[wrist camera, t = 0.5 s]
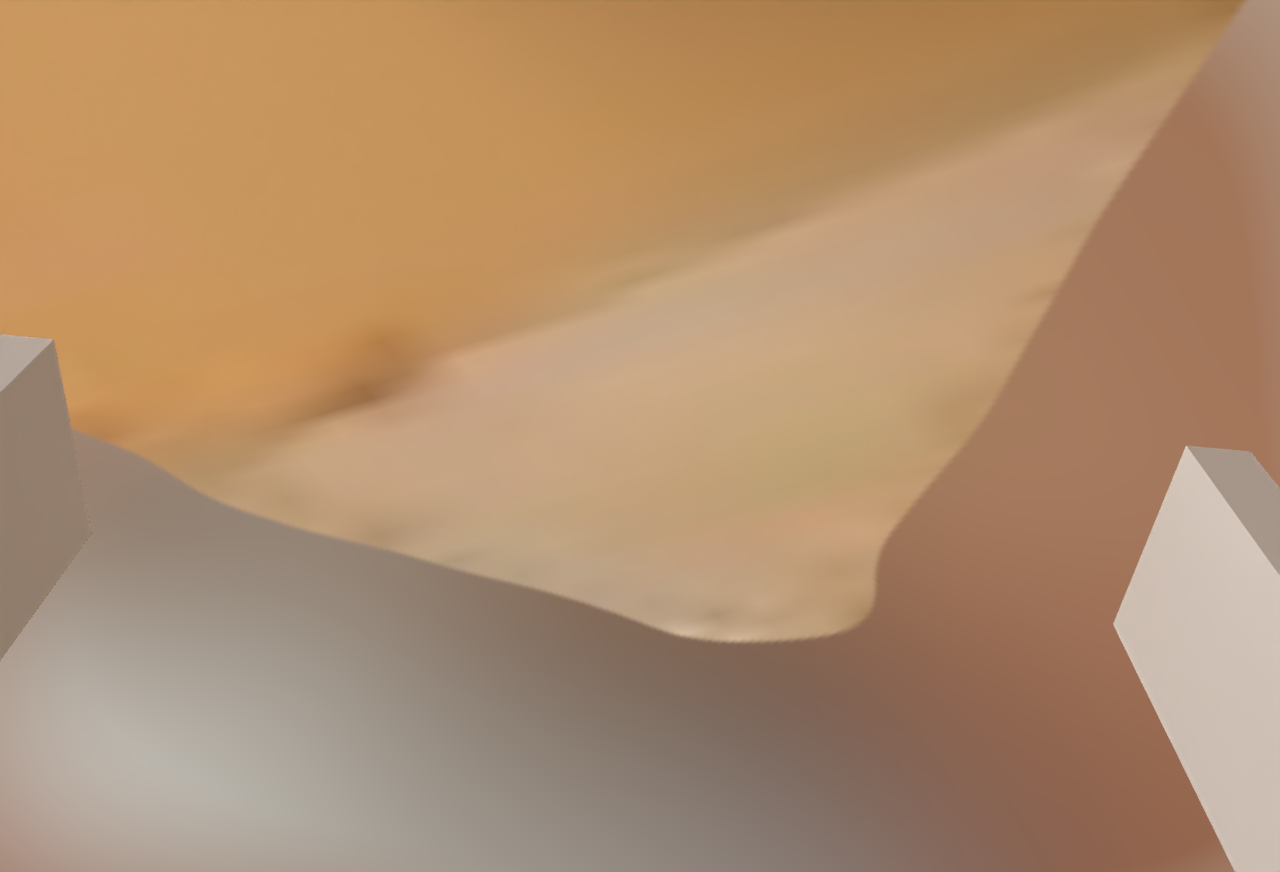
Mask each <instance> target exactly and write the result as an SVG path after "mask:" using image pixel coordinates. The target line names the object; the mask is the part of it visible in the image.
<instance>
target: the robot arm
mask: <svg viewBox="0 0 1280 872" xmlns="http://www.w3.org/2000/svg"><path fill="white" fill-rule="evenodd" d="M91 534H92V531H91V526H90V521H89V516H88V511H87V506H86V501H85V496H84V491H83V485H82V480H81V476H80V470H79V465H78V460H77V455H76V450H75V445H74V440H73V435H72V429H71V424H70V419H69V414H68V409H67V404H66V399H65V394H64V389H63V383H62V378H61V373H60V368H59V363H58V358H57V353H56V348H55V343H54V339H45V338H35V337H24V336H13V335H3V334H0V660H1V659H2V658H3V656H4V655H5V653H6V652H7V651H8V649H9V648H10V646H11V645H12V644H13V642H14V641H15V639H16V638H17V637H18V635H19V634H20V633H21V631H22V630H23V628H24V627H25V625H26V624H27V623H28V621H29V620H30V619H31V617H32V616H33V615H34V613H35V612H36V610H37V609H38V608H39V606H40V605H41V603H42V602H43V601H44V599H45V598H46V596H47V595H48V594H49V592H50V591H51V590H52V588H53V586H54V585H55V584H56V582H57V581H58V580H59V579H60V577H61V575H62V574H63V573H64V571H65V570H66V569H67V567H68V566H69V565H70V563H71V562H72V560H73V559H74V557H75V556H76V555H77V554H78V552H79V551H80V549H81V548H82V547H83V545H84V544H85V542H86V541H87V540H88V538H89V537H90V535H91ZM1113 625H1114V627H1115V629H1116V631H1117V633H1118V635H1119V637H1120V639H1121V641H1122V643H1123V645H1124V647H1125V650H1126V652H1127V654H1128V656H1129V658H1130V660H1131V662H1132V663H1133V666H1134V668H1135V670H1136V672H1137V674H1138V676H1139V678H1140V680H1141V682H1142V684H1143V686H1144V688H1145V690H1146V692H1147V694H1148V696H1149V698H1150V700H1151V702H1152V704H1153V706H1154V708H1155V710H1156V713H1157V714H1158V717H1159V719H1160V721H1161V723H1162V725H1163V727H1164V729H1165V731H1166V733H1167V735H1168V737H1169V739H1170V741H1171V743H1172V745H1173V747H1174V749H1175V751H1176V753H1177V755H1178V757H1179V759H1180V761H1181V763H1182V765H1183V767H1184V769H1185V771H1186V773H1187V775H1188V778H1189V780H1190V782H1191V784H1192V786H1193V788H1194V790H1195V792H1196V794H1197V796H1198V798H1199V800H1200V802H1201V804H1202V806H1203V808H1204V810H1205V812H1206V814H1207V816H1208V818H1209V820H1210V822H1211V824H1212V826H1213V828H1214V830H1215V832H1216V834H1217V836H1218V838H1219V840H1220V842H1221V844H1222V846H1223V848H1224V851H1225V853H1226V855H1227V857H1228V859H1229V861H1230V863H1231V865H1232V867H1233V869H1234V871H1235V872H1280V488H1279V487H1278V486H1277V484H1276V483H1275V482H1274V481H1273V479H1272V478H1271V477H1270V476H1269V474H1268V473H1267V472H1266V471H1265V469H1264V468H1263V467H1262V466H1261V464H1260V463H1259V462H1258V461H1257V459H1256V458H1255V457H1254V456H1253V454H1252V453H1251V452H1250V451H1239V450H1227V449H1217V448H1206V447H1196V446H1186V447H1185V450H1184V452H1183V455H1182V457H1181V460H1180V462H1179V465H1178V467H1177V470H1176V472H1175V474H1174V477H1173V479H1172V482H1171V484H1170V487H1169V489H1168V492H1167V494H1166V496H1165V499H1164V501H1163V504H1162V506H1161V509H1160V511H1159V513H1158V516H1157V519H1156V521H1155V523H1154V526H1153V528H1152V531H1151V533H1150V535H1149V538H1148V540H1147V543H1146V546H1145V548H1144V550H1143V553H1142V555H1141V558H1140V560H1139V562H1138V565H1137V568H1136V570H1135V572H1134V575H1133V577H1132V579H1131V582H1130V584H1129V587H1128V589H1127V592H1126V594H1125V597H1124V599H1123V601H1122V604H1121V607H1120V609H1119V611H1118V614H1117V616H1116V619H1115V621H1114V624H1113Z"/></svg>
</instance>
